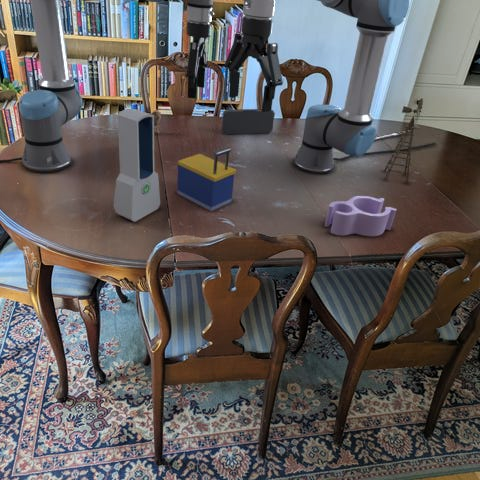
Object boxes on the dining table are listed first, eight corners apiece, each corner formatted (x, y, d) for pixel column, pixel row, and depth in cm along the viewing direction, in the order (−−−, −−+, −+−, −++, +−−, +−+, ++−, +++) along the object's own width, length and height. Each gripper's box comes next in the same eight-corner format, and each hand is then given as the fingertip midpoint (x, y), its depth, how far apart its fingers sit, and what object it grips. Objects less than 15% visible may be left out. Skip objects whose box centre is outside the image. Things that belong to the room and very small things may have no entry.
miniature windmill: (407, 184, 173) (433, 103, 157) (384, 180, 174) (407, 99, 158) (405, 174, 181) (429, 96, 164) (383, 170, 182) (405, 93, 165)
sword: (405, 131, 224) (406, 128, 224) (410, 133, 222) (411, 130, 222) (362, 142, 208) (362, 140, 208) (367, 144, 206) (368, 142, 206)
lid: (235, 173, 143) (238, 147, 139) (214, 181, 137) (216, 155, 133) (199, 156, 151) (200, 132, 147) (177, 164, 145) (178, 139, 140)
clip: (337, 240, 135) (342, 219, 131) (318, 218, 145) (322, 198, 141) (395, 233, 141) (402, 213, 137) (373, 213, 151) (378, 194, 147)
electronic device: (132, 223, 132) (128, 120, 116) (113, 215, 135) (106, 113, 119) (161, 207, 141) (161, 110, 125) (142, 199, 144) (140, 103, 128)
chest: (231, 201, 149) (234, 172, 144) (211, 211, 143) (213, 181, 137) (198, 184, 157) (199, 157, 151) (177, 193, 150) (177, 164, 145)
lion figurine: (159, 130, 196) (159, 108, 191) (162, 134, 192) (162, 113, 187) (124, 131, 191) (123, 109, 186) (126, 135, 187) (125, 113, 182)
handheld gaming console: (270, 130, 208) (273, 108, 202) (272, 133, 206) (275, 110, 200) (221, 132, 201) (222, 109, 195) (222, 134, 199) (224, 111, 193)
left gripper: (203, 29, 131) (200, 104, 143) (218, 18, 152) (213, 84, 164) (177, 26, 132) (176, 101, 143) (195, 15, 153) (192, 81, 164)
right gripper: (214, 9, 119) (210, 92, 131) (282, 27, 104) (270, 119, 115) (237, 8, 123) (231, 89, 135) (305, 26, 108) (292, 115, 120)
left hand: (196, 92), depth 154 cm, fingers open, 13 cm apart
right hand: (249, 103), depth 125 cm, fingers open, 13 cm apart
